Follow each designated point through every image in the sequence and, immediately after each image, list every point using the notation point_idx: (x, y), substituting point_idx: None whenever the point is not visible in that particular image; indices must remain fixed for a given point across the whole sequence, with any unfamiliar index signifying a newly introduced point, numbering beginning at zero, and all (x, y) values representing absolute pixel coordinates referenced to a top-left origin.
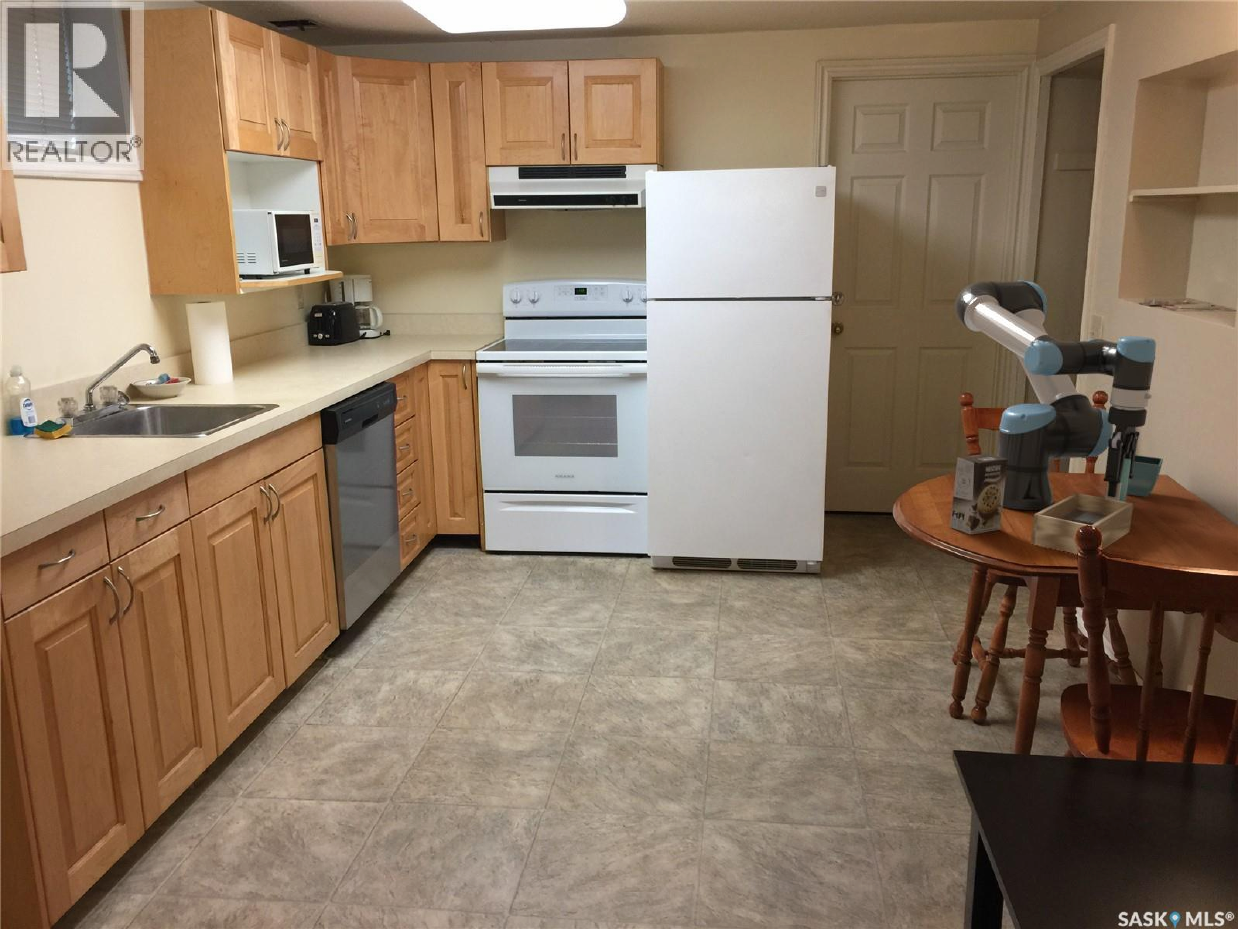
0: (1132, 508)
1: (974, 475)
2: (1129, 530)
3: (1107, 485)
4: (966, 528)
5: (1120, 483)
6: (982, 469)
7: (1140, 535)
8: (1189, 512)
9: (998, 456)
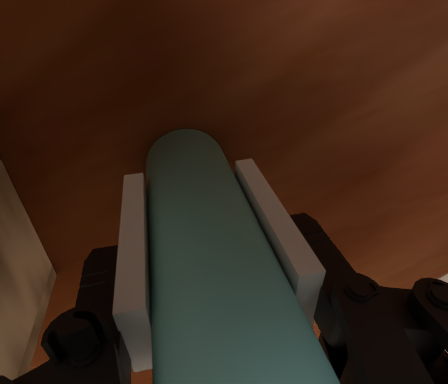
0: (25, 371)
1: None
2: (54, 280)
3: (116, 283)
4: None
5: (138, 371)
6: None
7: (59, 303)
8: (423, 254)
9: None
